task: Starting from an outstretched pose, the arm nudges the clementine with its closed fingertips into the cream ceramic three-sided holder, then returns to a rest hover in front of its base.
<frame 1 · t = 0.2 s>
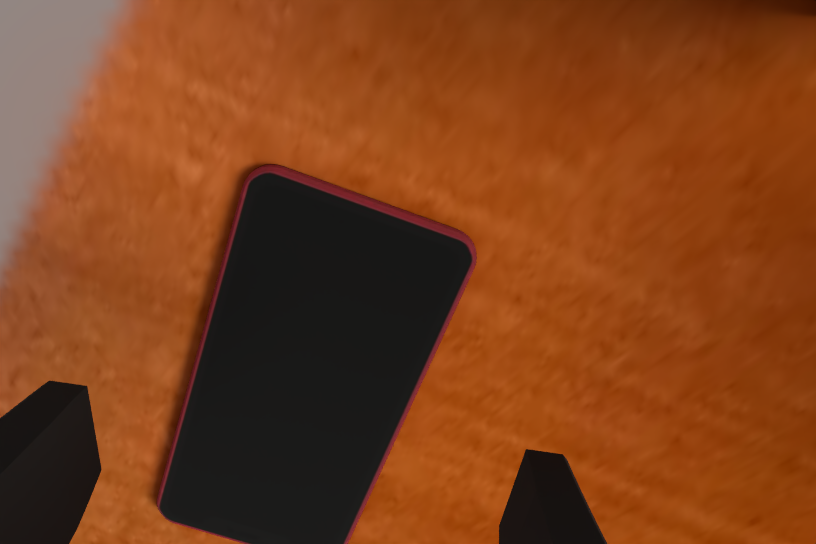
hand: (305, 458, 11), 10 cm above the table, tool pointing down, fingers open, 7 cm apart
smartphone: (304, 378, 24), on the table
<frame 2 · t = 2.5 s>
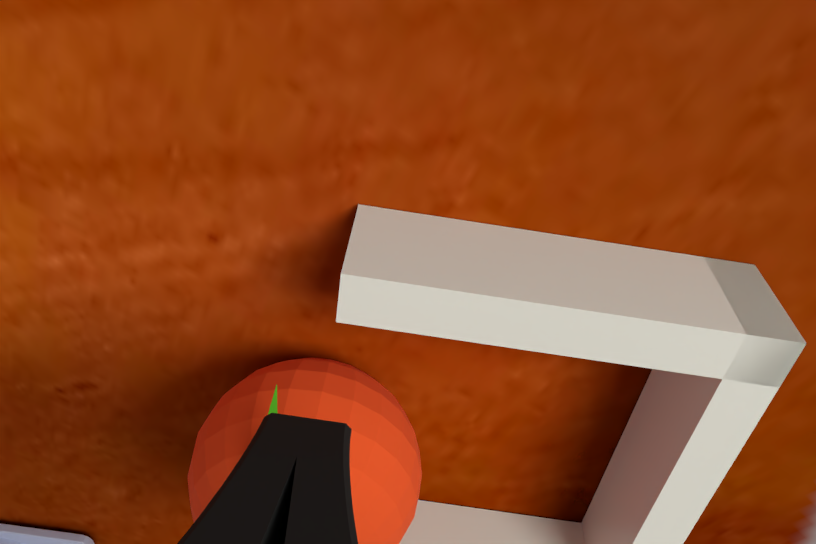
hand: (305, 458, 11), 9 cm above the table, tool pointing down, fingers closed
holder: (504, 407, 23), on the table
clementine: (324, 376, 23), on the table
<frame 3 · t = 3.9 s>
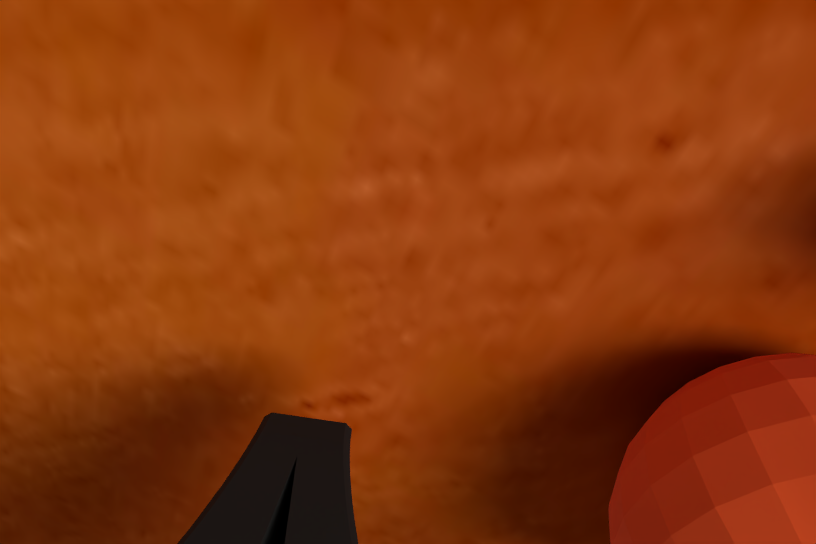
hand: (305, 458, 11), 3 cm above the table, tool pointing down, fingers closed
clementine: (746, 384, 15), on the table
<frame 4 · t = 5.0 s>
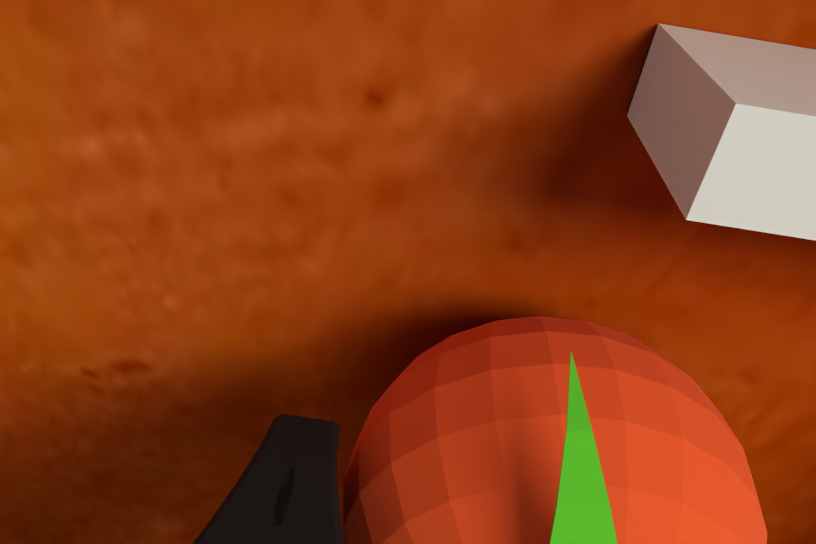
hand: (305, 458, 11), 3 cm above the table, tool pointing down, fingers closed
holder: (807, 402, 15), on the table
clementine: (524, 352, 15), on the table, touching gripper
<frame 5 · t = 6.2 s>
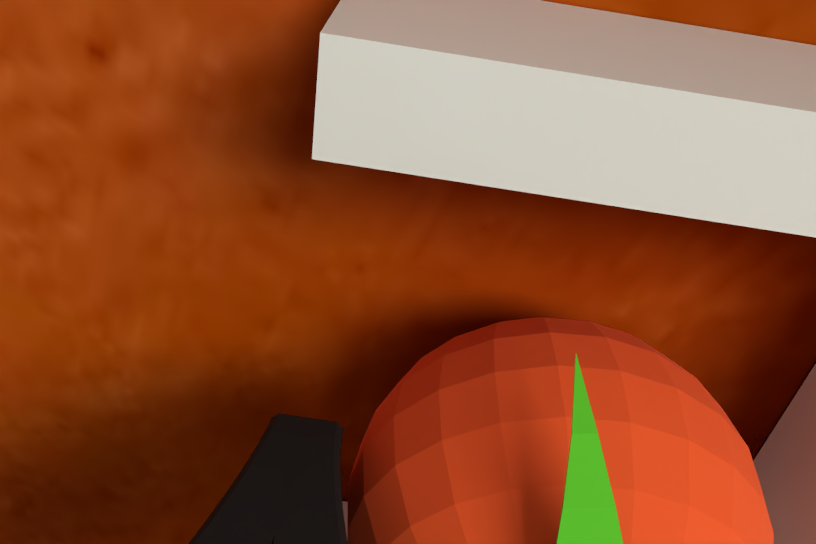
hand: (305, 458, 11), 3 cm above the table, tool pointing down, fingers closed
holder: (596, 369, 14), on the table
clementine: (528, 353, 14), on the table, touching gripper
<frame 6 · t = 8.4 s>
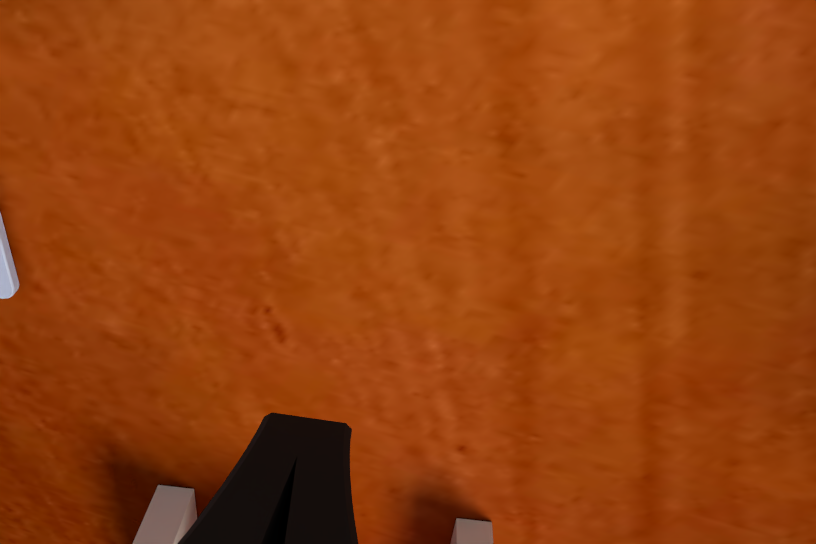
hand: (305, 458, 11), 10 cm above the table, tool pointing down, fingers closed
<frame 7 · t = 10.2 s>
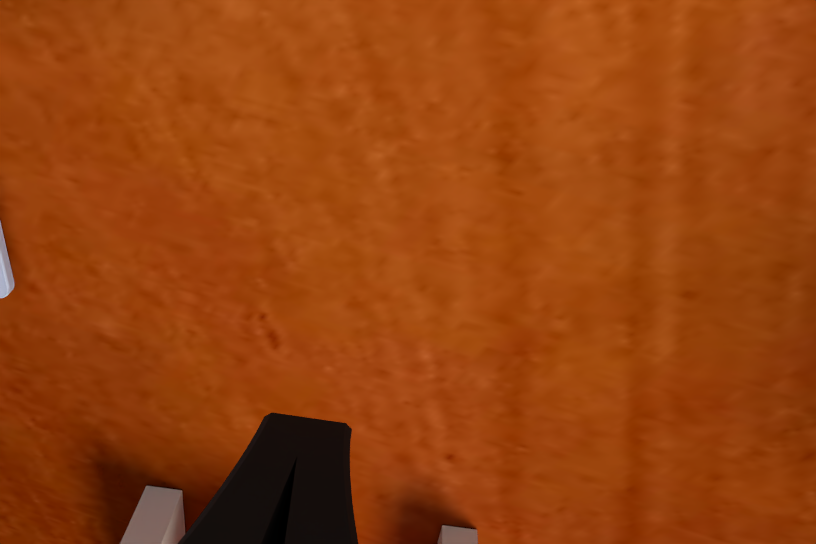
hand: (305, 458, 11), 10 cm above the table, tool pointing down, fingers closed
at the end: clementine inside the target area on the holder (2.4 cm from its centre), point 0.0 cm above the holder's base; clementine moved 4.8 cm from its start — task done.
